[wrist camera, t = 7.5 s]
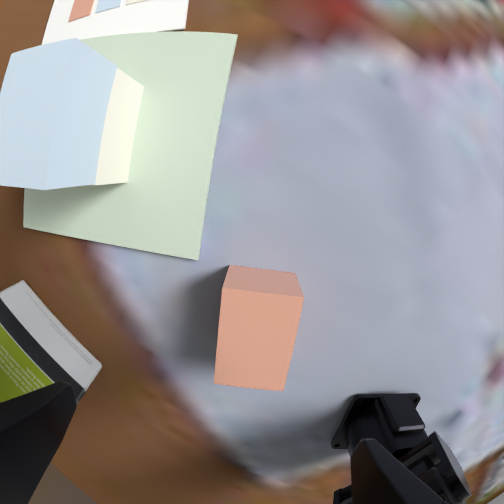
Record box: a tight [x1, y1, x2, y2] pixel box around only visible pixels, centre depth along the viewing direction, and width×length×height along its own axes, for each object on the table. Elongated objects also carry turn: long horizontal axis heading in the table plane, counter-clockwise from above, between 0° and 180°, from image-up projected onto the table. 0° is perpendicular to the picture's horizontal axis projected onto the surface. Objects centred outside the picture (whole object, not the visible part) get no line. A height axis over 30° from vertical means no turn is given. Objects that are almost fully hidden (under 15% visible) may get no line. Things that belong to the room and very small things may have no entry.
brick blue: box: [0, 38, 117, 190], centre depth 10 cm, size 6×4×4 cm, turn 170°
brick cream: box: [94, 68, 144, 185], centre depth 14 cm, size 6×4×4 cm, turn 170°
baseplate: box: [23, 32, 238, 260], centre depth 16 cm, size 14×14×1 cm
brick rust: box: [214, 265, 304, 391], centre depth 17 cm, size 6×4×4 cm, turn 173°
